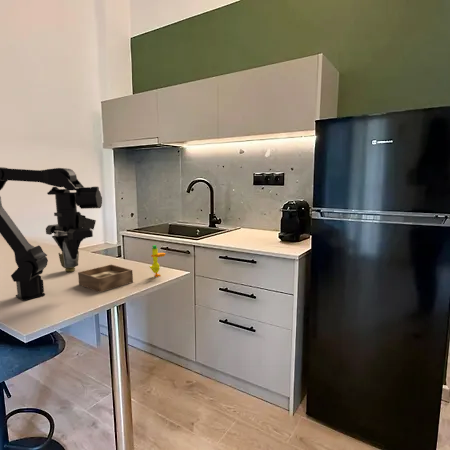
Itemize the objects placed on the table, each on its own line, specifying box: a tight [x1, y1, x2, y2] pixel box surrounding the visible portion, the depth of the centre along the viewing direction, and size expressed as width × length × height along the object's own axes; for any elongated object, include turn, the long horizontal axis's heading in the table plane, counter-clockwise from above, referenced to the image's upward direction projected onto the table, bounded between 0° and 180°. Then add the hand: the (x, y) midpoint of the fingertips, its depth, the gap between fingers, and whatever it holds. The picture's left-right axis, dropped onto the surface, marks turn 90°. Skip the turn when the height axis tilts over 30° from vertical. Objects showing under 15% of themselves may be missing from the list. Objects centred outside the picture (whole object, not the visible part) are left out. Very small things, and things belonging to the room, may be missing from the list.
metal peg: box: [62, 241, 79, 268], centre depth 104 cm, size 4×4×8 cm
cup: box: [58, 251, 80, 273], centre depth 133 cm, size 8×7×8 cm
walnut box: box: [77, 264, 134, 293], centre depth 117 cm, size 13×13×4 cm
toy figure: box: [148, 245, 167, 278], centre depth 125 cm, size 7×4×12 cm, turn 119°
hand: (70, 257), depth 105 cm, fingers closed on metal peg, 4 cm apart
